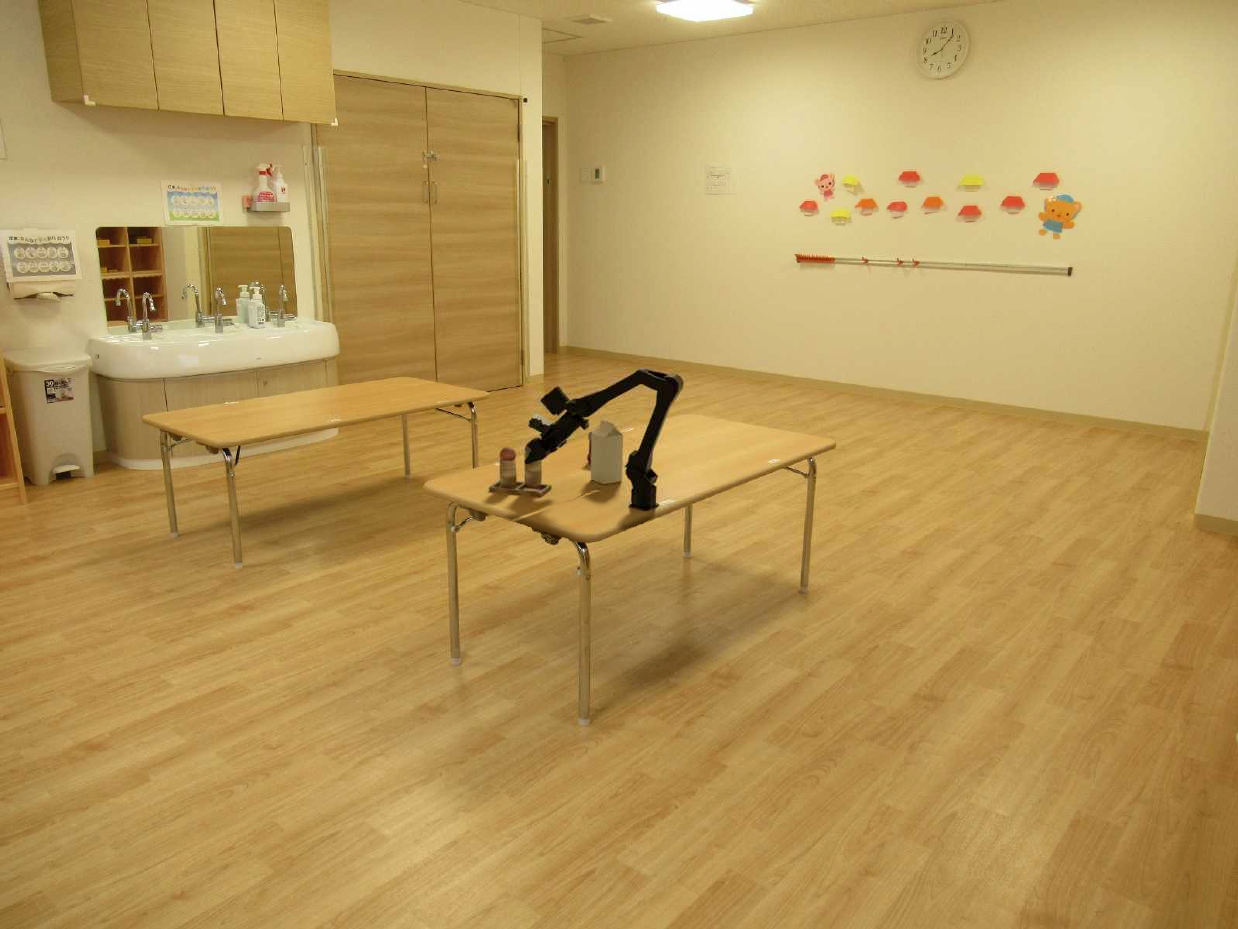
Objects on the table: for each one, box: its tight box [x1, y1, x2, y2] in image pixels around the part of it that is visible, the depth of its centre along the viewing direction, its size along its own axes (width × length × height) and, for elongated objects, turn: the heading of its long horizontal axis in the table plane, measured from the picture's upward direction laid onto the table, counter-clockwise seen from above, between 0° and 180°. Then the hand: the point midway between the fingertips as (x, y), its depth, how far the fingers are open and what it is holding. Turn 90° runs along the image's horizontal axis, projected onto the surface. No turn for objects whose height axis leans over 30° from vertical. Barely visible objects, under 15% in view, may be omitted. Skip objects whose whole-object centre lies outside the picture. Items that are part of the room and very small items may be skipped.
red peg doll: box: [498, 446, 518, 489], centre depth 267 cm, size 5×5×13 cm
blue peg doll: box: [523, 441, 543, 485], centre depth 264 cm, size 5×5×13 cm
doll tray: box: [488, 479, 553, 498], centre depth 267 cm, size 16×9×2 cm, turn 74°
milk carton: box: [590, 419, 624, 485], centre depth 279 cm, size 7×7×19 cm
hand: (528, 461), depth 264 cm, fingers closed on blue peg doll, 5 cm apart
